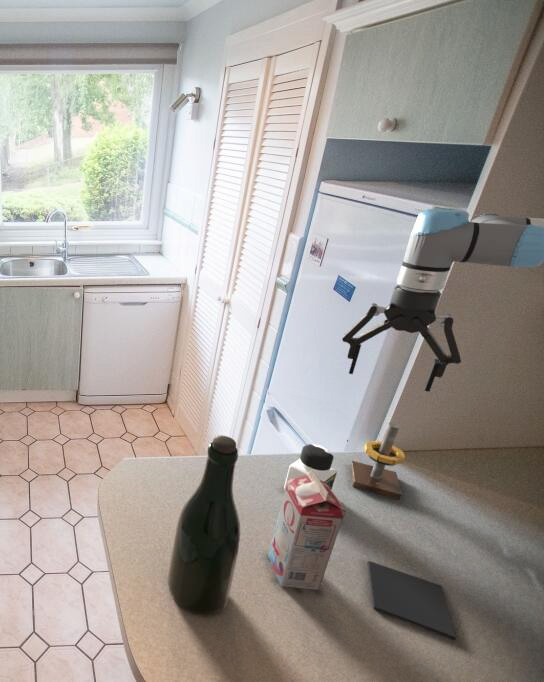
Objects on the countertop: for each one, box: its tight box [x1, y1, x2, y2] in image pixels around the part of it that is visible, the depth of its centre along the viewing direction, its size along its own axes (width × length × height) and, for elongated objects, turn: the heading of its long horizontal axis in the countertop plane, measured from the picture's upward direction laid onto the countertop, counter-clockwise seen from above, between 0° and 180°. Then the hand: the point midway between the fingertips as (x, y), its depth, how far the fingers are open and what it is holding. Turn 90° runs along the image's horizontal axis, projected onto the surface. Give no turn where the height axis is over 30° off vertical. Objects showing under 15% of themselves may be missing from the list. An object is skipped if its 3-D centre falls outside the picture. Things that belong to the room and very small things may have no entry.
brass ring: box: [364, 440, 406, 466], centre depth 105 cm, size 7×7×1 cm
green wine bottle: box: [167, 435, 241, 617], centre depth 76 cm, size 10×10×33 cm
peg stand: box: [350, 422, 403, 501], centre depth 105 cm, size 9×9×16 cm
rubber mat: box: [367, 560, 457, 640], centre depth 80 cm, size 11×11×1 cm
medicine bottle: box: [283, 443, 338, 491], centre depth 103 cm, size 7×7×12 cm
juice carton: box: [267, 467, 346, 591], centre depth 81 cm, size 7×7×22 cm
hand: (387, 380), depth 101 cm, fingers open, 13 cm apart
